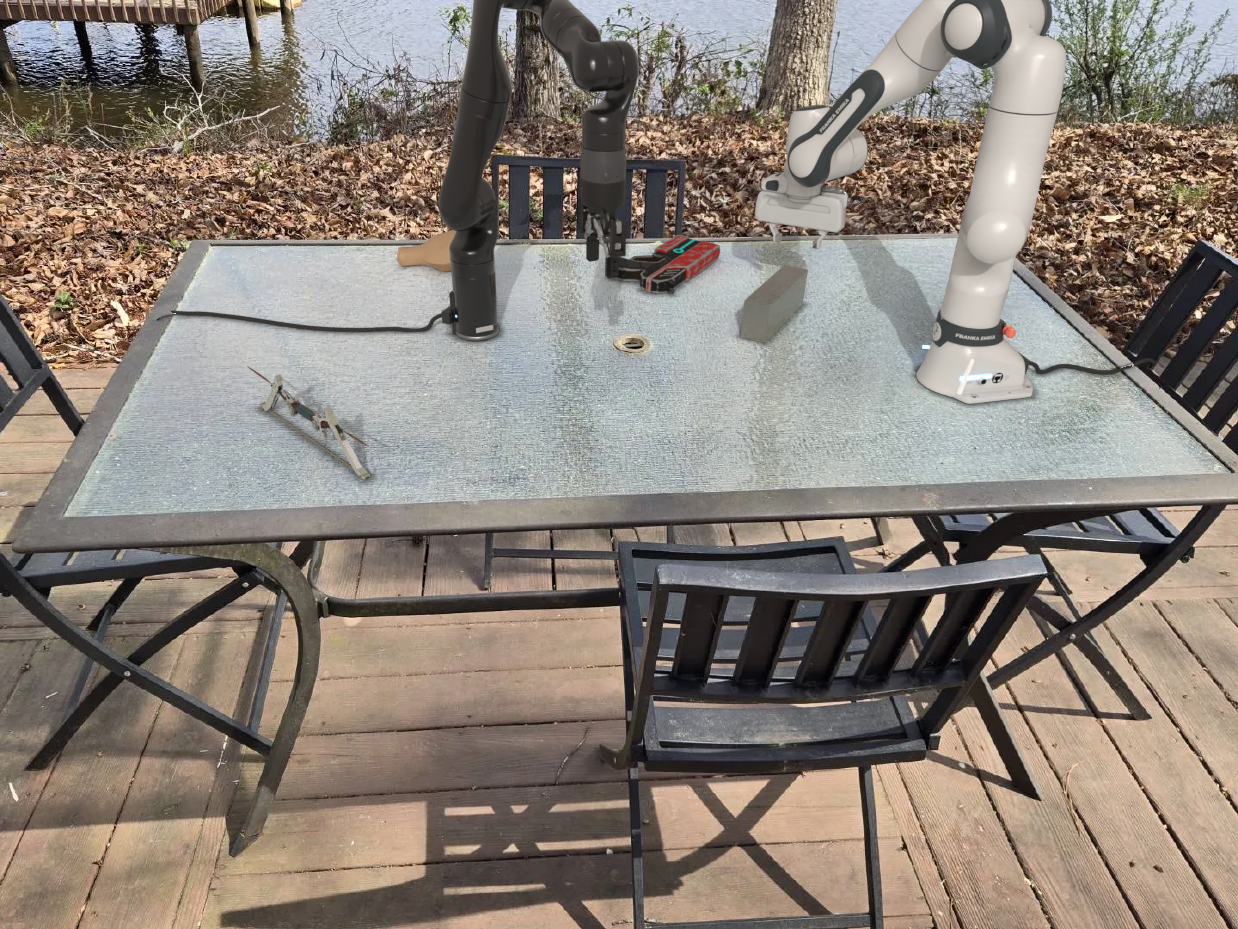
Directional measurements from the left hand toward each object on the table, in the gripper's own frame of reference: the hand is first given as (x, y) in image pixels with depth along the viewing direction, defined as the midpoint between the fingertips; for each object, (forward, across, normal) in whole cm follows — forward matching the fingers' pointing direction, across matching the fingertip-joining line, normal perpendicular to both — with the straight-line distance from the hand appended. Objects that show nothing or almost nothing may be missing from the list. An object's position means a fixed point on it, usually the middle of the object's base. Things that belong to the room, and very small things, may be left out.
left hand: (601, 268), depth 153 cm
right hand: (+12, +25, -59) cm, 65 cm away
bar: (+27, +21, -52) cm, 62 cm away
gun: (+27, +57, -42) cm, 76 cm away
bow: (+27, +6, +52) cm, 59 cm away
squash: (+27, +80, +12) cm, 85 cm away
